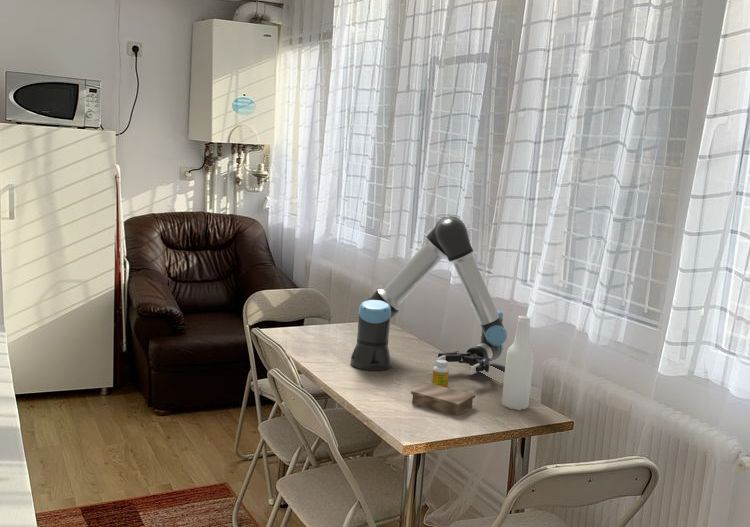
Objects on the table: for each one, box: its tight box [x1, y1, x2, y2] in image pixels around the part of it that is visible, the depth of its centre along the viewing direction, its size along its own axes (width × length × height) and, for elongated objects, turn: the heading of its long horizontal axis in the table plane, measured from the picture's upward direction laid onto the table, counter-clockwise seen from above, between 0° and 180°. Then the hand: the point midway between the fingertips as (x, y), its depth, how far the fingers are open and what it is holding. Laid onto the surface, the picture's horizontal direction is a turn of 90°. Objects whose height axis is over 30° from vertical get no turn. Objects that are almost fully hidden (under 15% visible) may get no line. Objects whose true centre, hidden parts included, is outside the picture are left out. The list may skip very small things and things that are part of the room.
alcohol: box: [501, 315, 535, 410], centre depth 255 cm, size 9×9×30 cm
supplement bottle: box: [431, 359, 450, 388], centre depth 269 cm, size 5×5×10 cm
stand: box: [410, 382, 476, 416], centre depth 252 cm, size 17×12×4 cm
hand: (453, 366), depth 276 cm, fingers open, 13 cm apart
